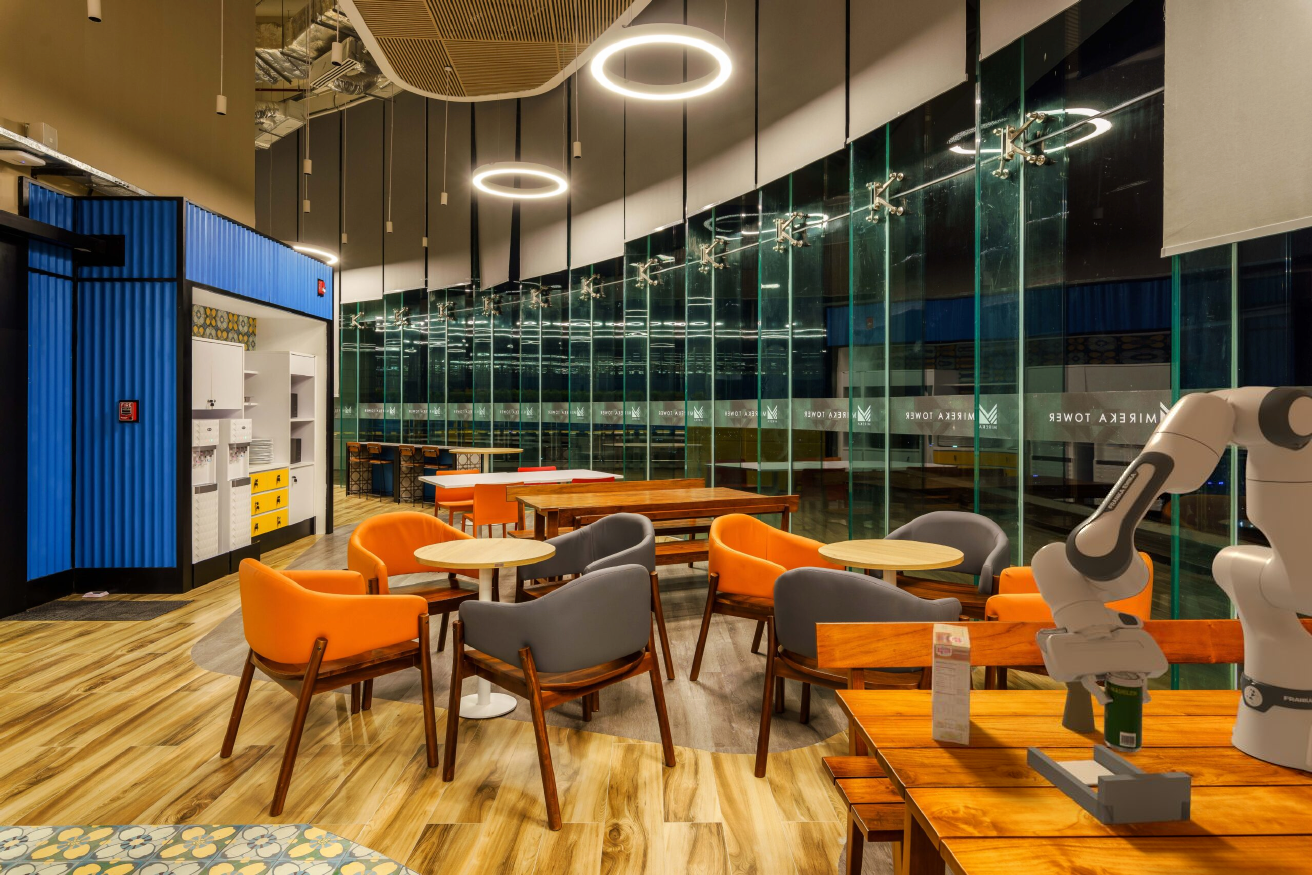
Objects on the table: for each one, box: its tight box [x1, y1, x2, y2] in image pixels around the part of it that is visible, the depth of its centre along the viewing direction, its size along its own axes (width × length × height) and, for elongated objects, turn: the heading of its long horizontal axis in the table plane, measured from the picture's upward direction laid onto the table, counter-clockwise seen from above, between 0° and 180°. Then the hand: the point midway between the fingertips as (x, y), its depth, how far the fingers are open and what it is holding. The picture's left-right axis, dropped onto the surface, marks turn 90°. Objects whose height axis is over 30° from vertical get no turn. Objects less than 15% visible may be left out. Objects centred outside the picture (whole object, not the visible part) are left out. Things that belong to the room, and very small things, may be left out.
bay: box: [1026, 743, 1192, 825], centre depth 125 cm, size 15×20×7 cm
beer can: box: [1103, 671, 1144, 754], centre depth 120 cm, size 5×5×12 cm
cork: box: [1061, 681, 1096, 734], centre depth 150 cm, size 6×6×11 cm
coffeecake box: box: [931, 623, 972, 746], centre depth 149 cm, size 15×7×20 cm, turn 159°
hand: (1126, 703), depth 120 cm, fingers closed on beer can, 5 cm apart
